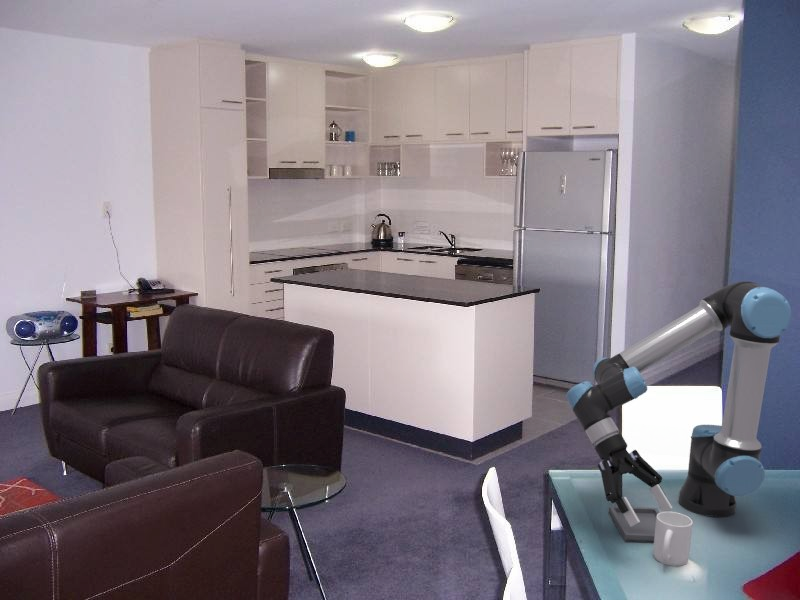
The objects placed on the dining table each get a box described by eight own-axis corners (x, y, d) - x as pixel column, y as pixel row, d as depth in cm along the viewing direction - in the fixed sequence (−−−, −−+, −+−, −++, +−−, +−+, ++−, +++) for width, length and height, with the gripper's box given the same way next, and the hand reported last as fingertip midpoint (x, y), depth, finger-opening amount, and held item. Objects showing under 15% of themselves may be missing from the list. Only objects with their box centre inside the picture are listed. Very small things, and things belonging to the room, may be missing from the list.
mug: (680, 577, 189) (684, 535, 187) (644, 566, 193) (648, 526, 191) (691, 556, 199) (696, 517, 197) (657, 547, 203) (661, 508, 201)
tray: (656, 514, 222) (656, 507, 221) (676, 544, 205) (677, 536, 205) (608, 513, 222) (609, 506, 221) (625, 542, 205) (625, 534, 205)
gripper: (626, 437, 216) (670, 511, 208) (565, 456, 201) (610, 536, 192) (645, 424, 211) (691, 499, 203) (585, 442, 196) (631, 524, 187)
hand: (652, 517), depth 197 cm, fingers open, 13 cm apart
